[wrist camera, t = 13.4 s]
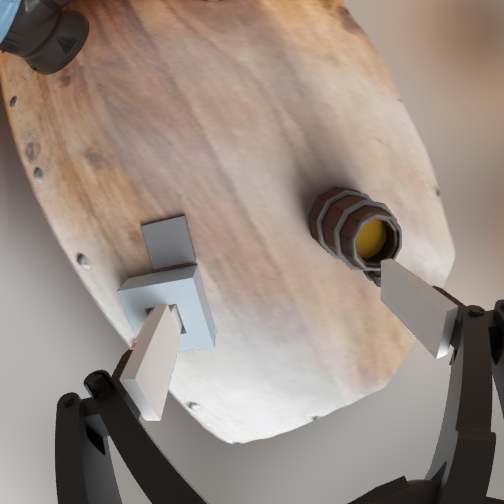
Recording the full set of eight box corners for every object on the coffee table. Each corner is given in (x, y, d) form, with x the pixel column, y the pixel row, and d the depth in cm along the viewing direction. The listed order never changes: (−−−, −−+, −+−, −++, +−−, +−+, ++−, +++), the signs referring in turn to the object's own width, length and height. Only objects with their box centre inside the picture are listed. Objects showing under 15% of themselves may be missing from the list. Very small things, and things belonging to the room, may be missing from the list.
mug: (297, 208, 46) (323, 226, 32) (355, 176, 45) (400, 182, 31) (333, 280, 51) (364, 321, 36) (384, 250, 49) (428, 279, 35)
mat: (142, 225, 45) (141, 226, 44) (185, 215, 45) (184, 216, 44) (154, 267, 48) (153, 269, 47) (196, 259, 48) (195, 261, 47)
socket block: (128, 277, 48) (116, 291, 42) (197, 264, 48) (192, 277, 42) (151, 338, 52) (144, 356, 47) (216, 330, 52) (214, 348, 47)
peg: (154, 303, 47) (130, 348, 34) (177, 299, 47) (158, 346, 34) (162, 323, 48) (142, 372, 35) (184, 320, 48) (169, 370, 35)
